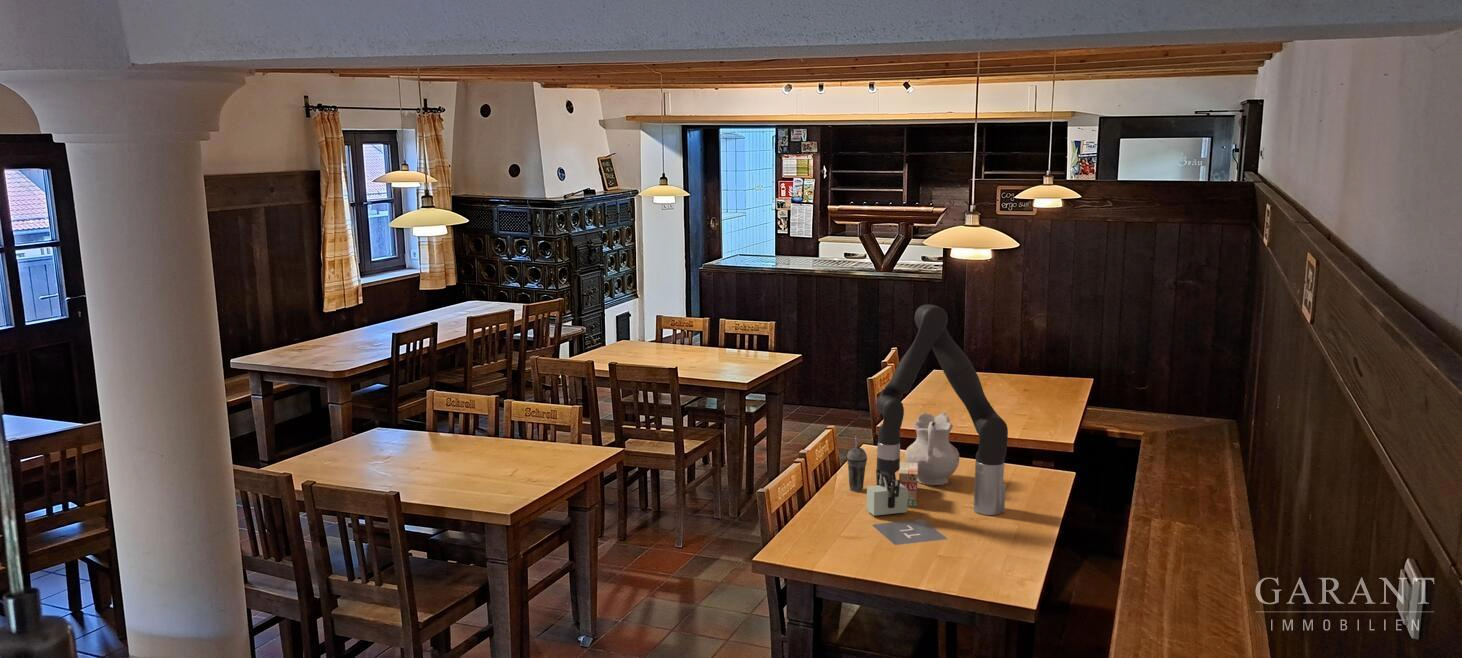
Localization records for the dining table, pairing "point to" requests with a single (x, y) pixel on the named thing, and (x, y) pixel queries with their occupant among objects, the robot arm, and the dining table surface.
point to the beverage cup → (856, 467)
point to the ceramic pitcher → (933, 450)
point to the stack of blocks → (909, 480)
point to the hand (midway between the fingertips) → (887, 504)
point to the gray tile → (909, 532)
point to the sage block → (885, 500)
